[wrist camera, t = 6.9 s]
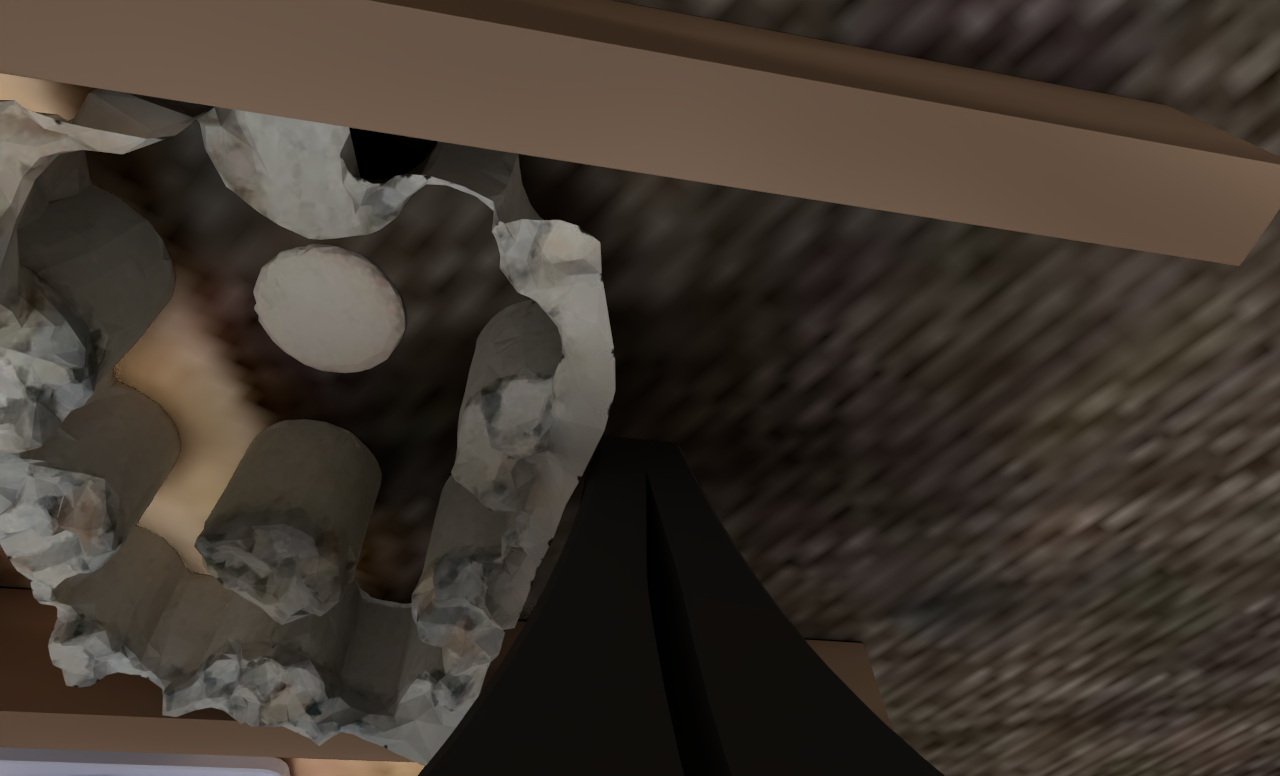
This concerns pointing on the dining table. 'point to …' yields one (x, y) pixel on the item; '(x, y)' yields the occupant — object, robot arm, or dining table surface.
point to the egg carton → (279, 431)
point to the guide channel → (633, 141)
